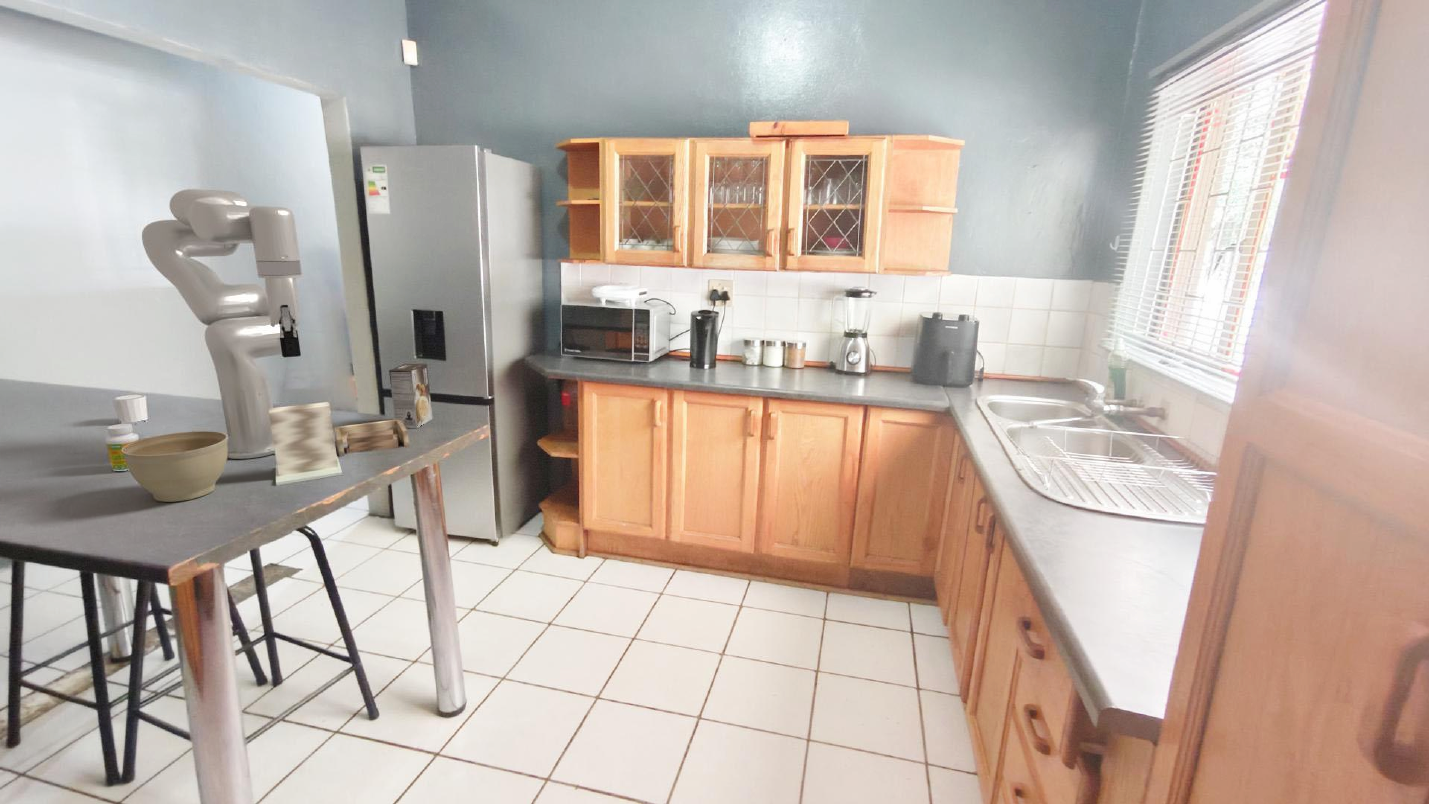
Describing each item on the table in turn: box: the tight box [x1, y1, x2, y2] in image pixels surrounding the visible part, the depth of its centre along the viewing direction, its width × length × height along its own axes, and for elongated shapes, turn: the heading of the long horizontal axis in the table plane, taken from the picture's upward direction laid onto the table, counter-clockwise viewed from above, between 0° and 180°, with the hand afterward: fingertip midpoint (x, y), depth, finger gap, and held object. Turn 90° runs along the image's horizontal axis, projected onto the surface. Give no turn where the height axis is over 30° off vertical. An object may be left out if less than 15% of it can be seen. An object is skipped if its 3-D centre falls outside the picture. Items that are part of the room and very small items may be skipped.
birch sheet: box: [269, 401, 338, 476], centre depth 141 cm, size 11×4×14 cm, turn 124°
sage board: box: [275, 456, 343, 486], centre depth 143 cm, size 12×12×1 cm
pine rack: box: [333, 419, 410, 457], centre depth 161 cm, size 15×12×4 cm
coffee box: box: [388, 363, 434, 429], centre depth 178 cm, size 9×6×16 cm
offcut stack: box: [346, 430, 399, 454], centre depth 159 cm, size 11×5×4 cm, turn 114°
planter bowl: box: [121, 430, 228, 503], centre depth 129 cm, size 16×16×11 cm
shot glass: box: [111, 393, 149, 422], centre depth 176 cm, size 7×7×7 cm
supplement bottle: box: [105, 423, 141, 470], centre depth 142 cm, size 5×5×10 cm
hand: (291, 352), depth 137 cm, fingers open, 9 cm apart
